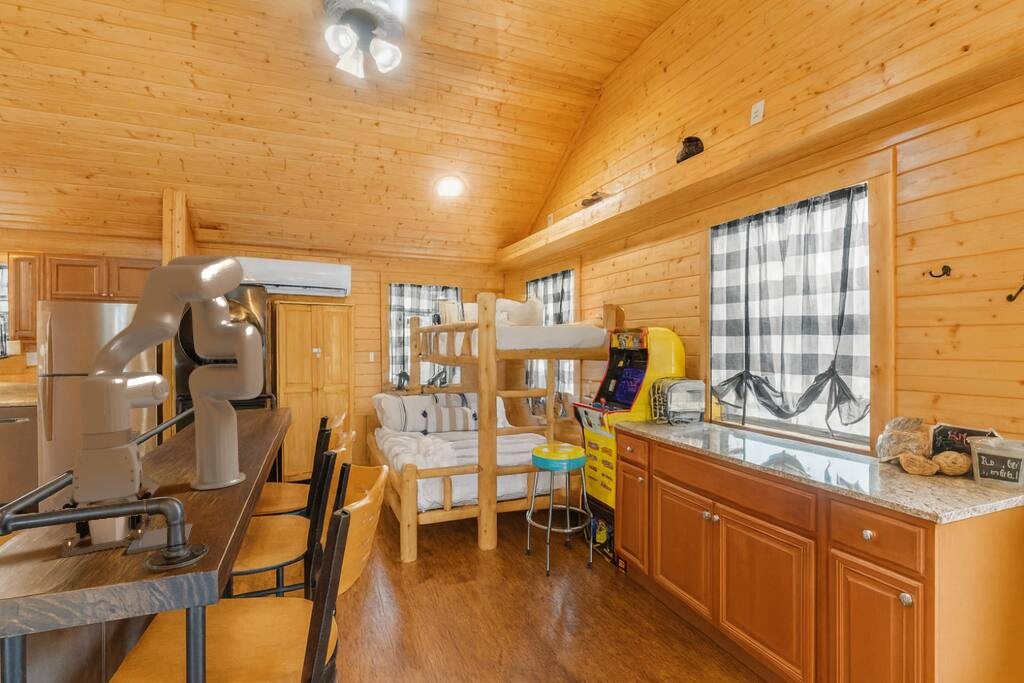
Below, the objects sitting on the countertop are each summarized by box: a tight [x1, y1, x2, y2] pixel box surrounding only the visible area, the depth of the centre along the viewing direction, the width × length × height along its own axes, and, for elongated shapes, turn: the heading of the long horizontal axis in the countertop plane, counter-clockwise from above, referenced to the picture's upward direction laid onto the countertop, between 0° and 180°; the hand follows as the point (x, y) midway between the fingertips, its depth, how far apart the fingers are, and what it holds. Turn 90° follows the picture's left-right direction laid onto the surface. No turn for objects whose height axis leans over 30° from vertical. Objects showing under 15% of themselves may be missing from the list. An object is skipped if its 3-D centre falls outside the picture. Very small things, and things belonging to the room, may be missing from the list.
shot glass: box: [88, 498, 131, 545], centre depth 95 cm, size 7×7×7 cm
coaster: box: [126, 523, 194, 556], centre depth 94 cm, size 9×9×1 cm
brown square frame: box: [61, 515, 153, 558], centre depth 95 cm, size 11×11×2 cm
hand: (110, 530), depth 95 cm, fingers open, 7 cm apart
